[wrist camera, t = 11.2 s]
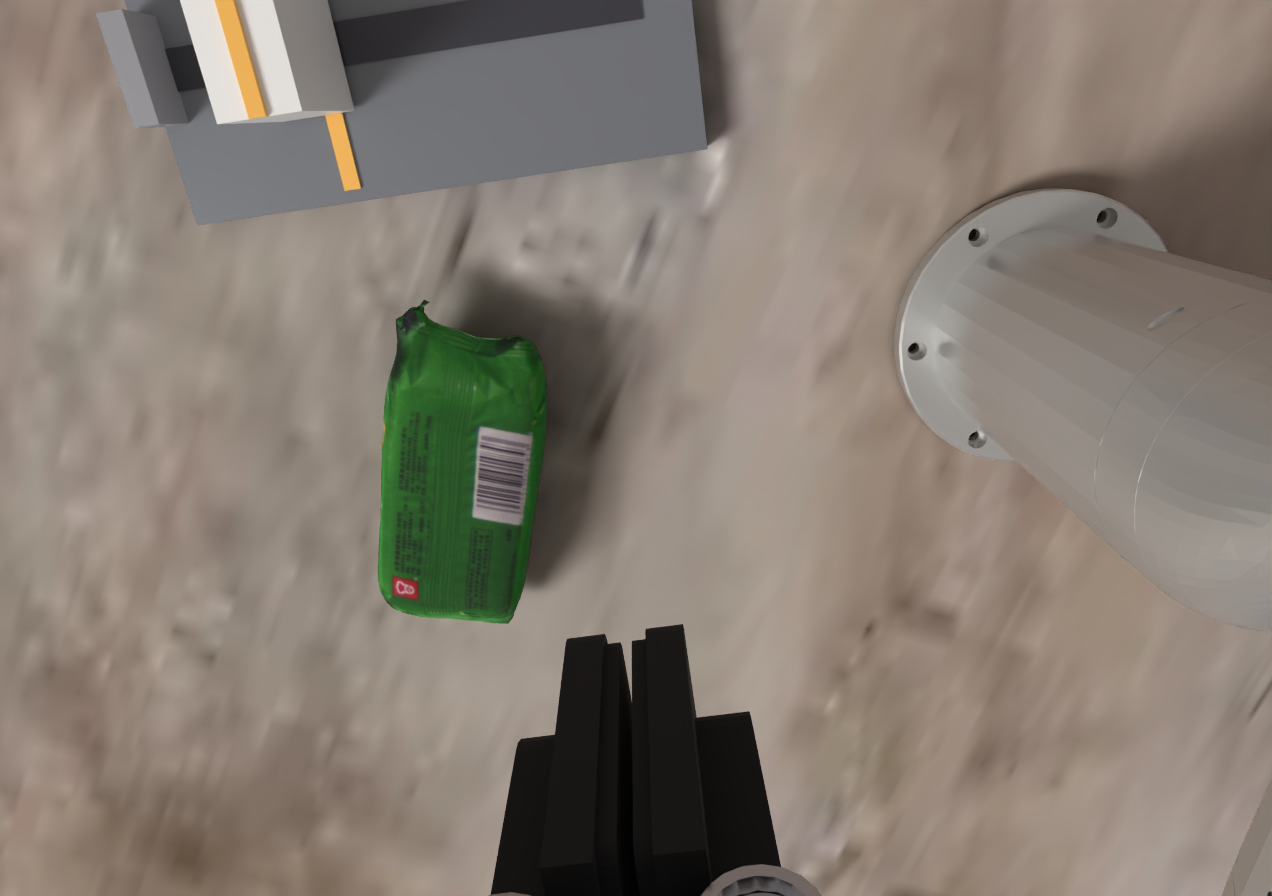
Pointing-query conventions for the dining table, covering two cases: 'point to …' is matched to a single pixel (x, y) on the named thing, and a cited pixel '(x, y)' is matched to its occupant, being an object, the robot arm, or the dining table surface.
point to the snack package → (459, 471)
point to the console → (426, 99)
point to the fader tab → (268, 59)
